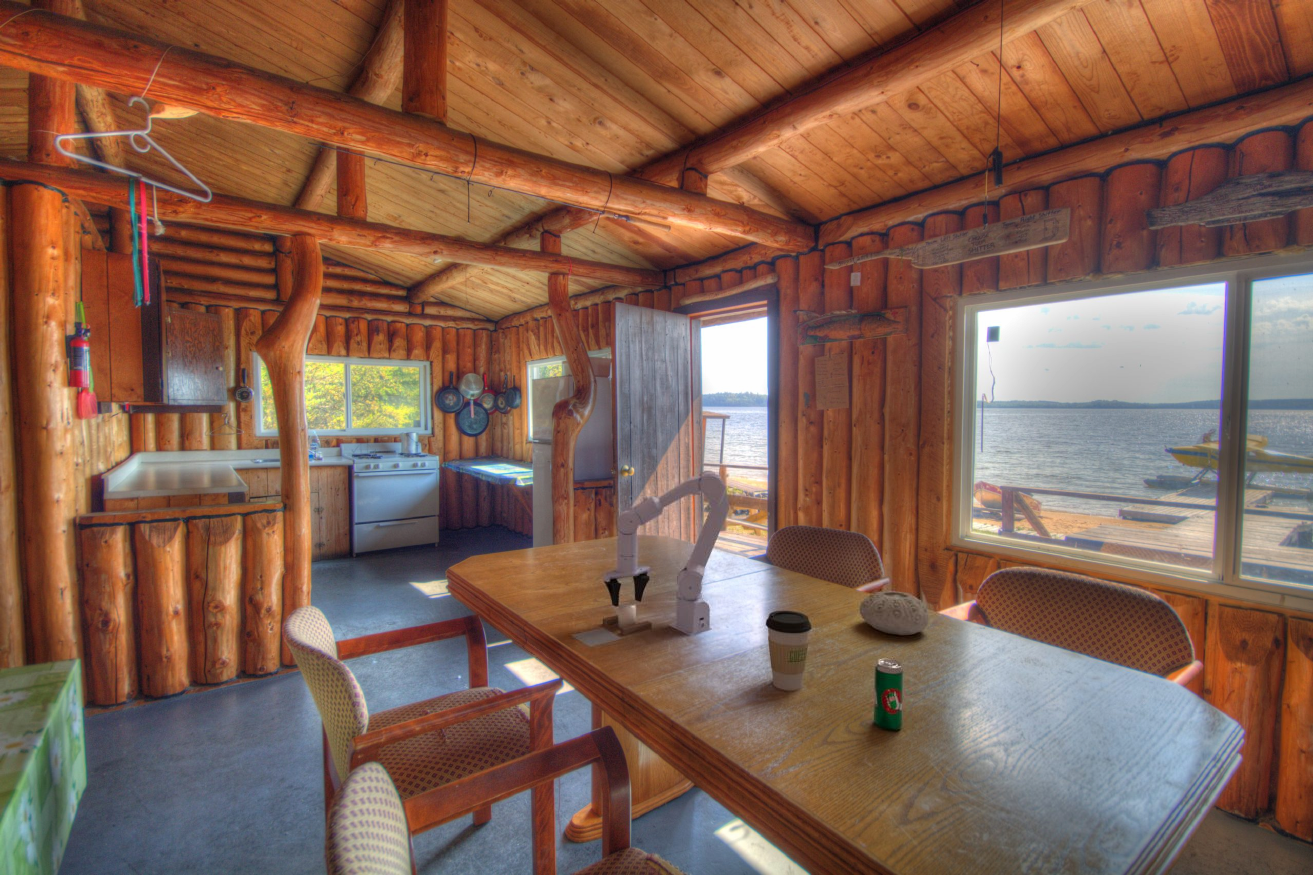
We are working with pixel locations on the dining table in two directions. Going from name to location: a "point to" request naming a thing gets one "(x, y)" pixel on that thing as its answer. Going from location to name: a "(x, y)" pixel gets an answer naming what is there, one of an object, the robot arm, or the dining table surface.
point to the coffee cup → (788, 648)
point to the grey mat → (596, 637)
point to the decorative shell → (894, 612)
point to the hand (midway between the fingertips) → (626, 603)
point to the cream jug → (626, 614)
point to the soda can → (888, 694)
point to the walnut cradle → (638, 627)
